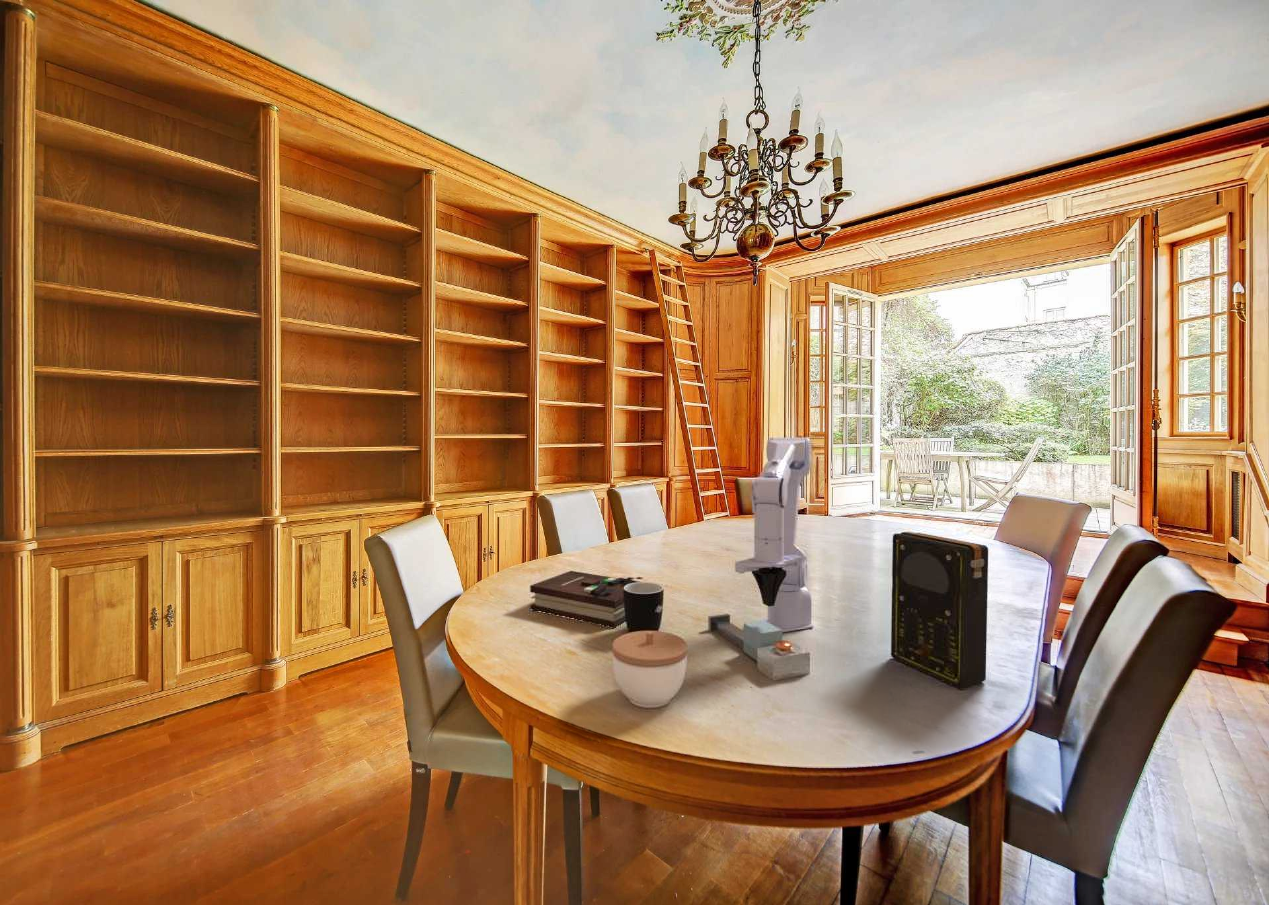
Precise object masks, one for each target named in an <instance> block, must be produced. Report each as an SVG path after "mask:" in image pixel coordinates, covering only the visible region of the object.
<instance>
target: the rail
mask: <svg viewBox="0 0 1269 905" xmlns="http://www.w3.org/2000/svg"><path fill="white" fill-rule="evenodd" d="M707 617H708V625H707V626H708V629H707V630H708V631H709V632H713V631H714V632H716V633H717V634H719V635H720V636H722V637H723V638H725V639H726V640H728V641H730V643H733V644H734V645H735V646H737V647H738V648H739V649H741V650H742V651H744V629H742V628H740V627H739V626H736V625H735V624H733V623H732V622H731V615H730V614H729V613H723V614H718V615H710V616H707Z"/></svg>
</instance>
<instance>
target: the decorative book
mask: <svg viewBox="0 0 1269 905" xmlns="http://www.w3.org/2000/svg"><path fill="white" fill-rule="evenodd" d="M635 579H636V580H635ZM638 580H643V576H638V577H631V576H629V577H626V578H624V577H612V576H611V577H610V576H606V575H600V574H599V575H598V574H595V573H594V574H593V573H588V572H587V573H586V572H582V571H581V572H580V571H575V570H570V571H566V572H564V573H561V574H558V575H555V576H552V577H550V578H547V579H544V580H542V581H538V582H536V583H534V584H531V585H529V590H530V591H529V592H530V593H531V594H532V593H533V594H534V595H533V596H531V597H530V599H534V603H532V604H531V605H530V608H529V609H532V610H535V611H534V612H536V611H541V612H545V613H551V614H554V615H559V616H565V617H569V618H574V619H577V620H583V621H586V622H591V623H595V624H594V625H596V624H601V625H604V626H603V627H605V626H609V627H612V628H611V629H614V628H615V629H617V628H618V627H617V626H619V625H620V626H622V625H623V623H624V622H625V623H626V619H625V611H624V597H623V589H624V586H626V585H628V584H631V583H638V582H639V581H638ZM545 613H544V614H545ZM554 615H553V616H554ZM559 616H558V617H559ZM577 620H576V621H577ZM586 622H585V623H586ZM591 623H590V624H591ZM625 623H624V624H625ZM621 624H622V625H621ZM620 626H619V627H620ZM609 627H608V628H609ZM616 627H617V628H616Z"/></svg>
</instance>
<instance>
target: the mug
mask: <svg viewBox="0 0 1269 905" xmlns="http://www.w3.org/2000/svg"><path fill="white" fill-rule="evenodd" d="M623 597H624V611H625V619H626V622H625V624H626V628H627V631H628V633H631V632H637V631H660V628H661V623H662V618H663V617H662V616H663V611H664V587H663V586H662V585H661V584H658V583H656V582H649V581H648V582H647V581H646V582H645V581H638V583H631V584H628V585H626V586H624V589H623Z"/></svg>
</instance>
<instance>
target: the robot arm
mask: <svg viewBox="0 0 1269 905" xmlns="http://www.w3.org/2000/svg"><path fill="white" fill-rule="evenodd" d="M812 447H813V446H812V440H811V439H810V437H808V436H805V437H774V436H770V437H769V438H768V440H767V442H766V458H767V462H766V463H765V464H764V466H763V468H762V471H761V472H760V475H759V476H758V477H756V479H752V481H751V486H750V498H751V500H750V502H751V505H752V506H751V507H752V508H751V509H752V511H751V512H752V515H753V516H754V517H753V518H754V519H753V520H754V522H753V523H754V526H753V528H754V530H753V531H754V534H753V536H754V537H753V546H754V547H753V554H754V555H753V557H750V558H747V559H743V560H737V561H735V562H734V572H736V573H739V574H745V573H748V572H751V574H752V575H753V578H754V579H755V582H756V584H757V586H758V589H759V593H760V596H761V601H762V604H763V605H765V606H767V618H760V619H759V621H762V620H765V621H766V622H768V623H770V624H772V625H774V626H775V627H777V628H779V629H781V630H782V633H787V632H792V631H793V632H794V631H799V630H800V631H801V630H805V629H811V628H814V624H812V597H811V593H810V591H809V589H808V588H807V587H806V585H807V583H808V582H807V581H808V556H807V554H806V553H805V552H804V550H802V549H801V548H799V547H798V546H797V544H796V542H797V528H798V527H797V526H798V517H799V516H798V512H799V498H800V486H801V483H802V480H803V478H804V477H806V476H808V475H810V470H811V469H812V468H811V465H812V455H813V454H812Z"/></svg>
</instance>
